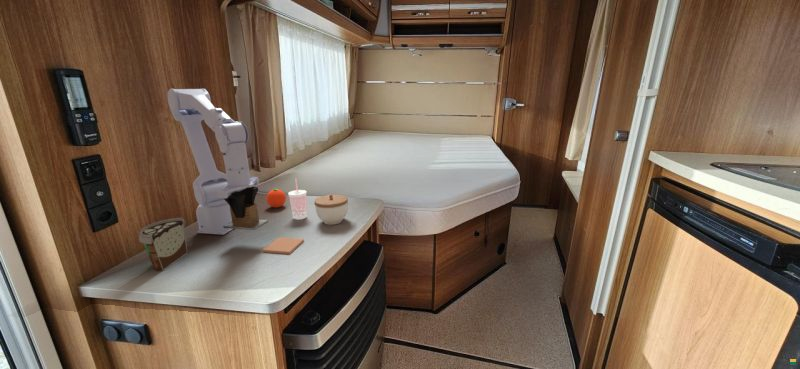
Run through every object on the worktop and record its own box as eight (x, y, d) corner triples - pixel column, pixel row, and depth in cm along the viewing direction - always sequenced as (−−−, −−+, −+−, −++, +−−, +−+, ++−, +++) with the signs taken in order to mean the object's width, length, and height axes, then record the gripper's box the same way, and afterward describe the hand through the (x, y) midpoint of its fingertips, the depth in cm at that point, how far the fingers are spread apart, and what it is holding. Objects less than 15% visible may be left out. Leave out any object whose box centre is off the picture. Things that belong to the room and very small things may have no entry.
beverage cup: (311, 217, 114) (307, 178, 110) (293, 221, 111) (289, 181, 107) (305, 212, 119) (301, 175, 115) (288, 216, 116) (284, 177, 112)
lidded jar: (347, 226, 106) (345, 198, 103) (313, 228, 105) (310, 200, 103) (350, 214, 116) (348, 189, 113) (319, 216, 115) (317, 190, 113)
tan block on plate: (223, 227, 92) (219, 207, 90) (237, 220, 97) (234, 200, 96) (255, 230, 90) (252, 209, 88) (268, 222, 95) (265, 202, 94)
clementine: (271, 203, 130) (268, 186, 128) (289, 202, 130) (287, 185, 128) (265, 210, 122) (262, 192, 120) (284, 209, 123) (282, 191, 121)
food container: (169, 250, 92) (161, 217, 89) (191, 250, 92) (184, 216, 89) (133, 274, 80) (123, 236, 77) (158, 274, 80) (149, 236, 77)
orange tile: (262, 249, 90) (289, 251, 88) (278, 237, 97) (303, 239, 96) (263, 253, 90) (290, 255, 88) (279, 240, 98) (304, 242, 96)
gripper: (232, 174, 81) (240, 225, 85) (266, 162, 95) (271, 207, 99) (207, 174, 83) (216, 224, 86) (244, 162, 96) (250, 205, 100)
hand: (244, 215), depth 93 cm, fingers closed on tan block on plate, 3 cm apart
